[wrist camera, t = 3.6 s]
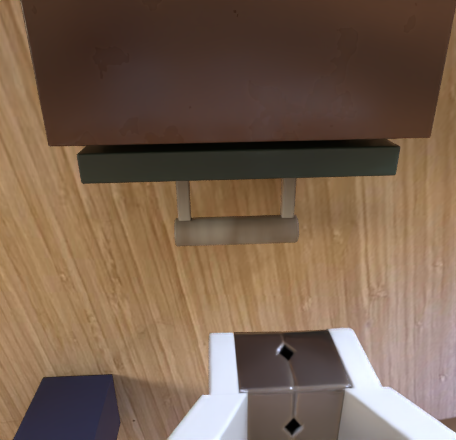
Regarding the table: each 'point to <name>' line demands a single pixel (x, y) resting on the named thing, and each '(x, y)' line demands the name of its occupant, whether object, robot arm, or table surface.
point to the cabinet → (236, 69)
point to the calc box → (72, 410)
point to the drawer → (237, 177)
